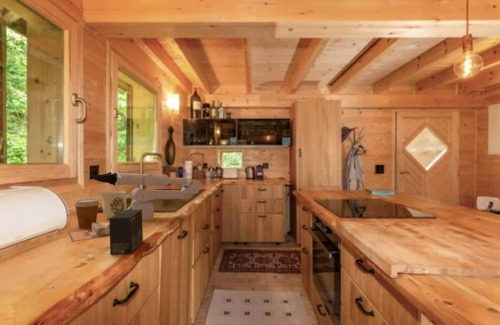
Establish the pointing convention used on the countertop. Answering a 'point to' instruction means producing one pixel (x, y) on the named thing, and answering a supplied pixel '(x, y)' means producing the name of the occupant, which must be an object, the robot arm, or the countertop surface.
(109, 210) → the pitcher
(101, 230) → the t block
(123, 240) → the small box
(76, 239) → the mat
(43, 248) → the countertop surface
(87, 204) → the disposable coffee cup
